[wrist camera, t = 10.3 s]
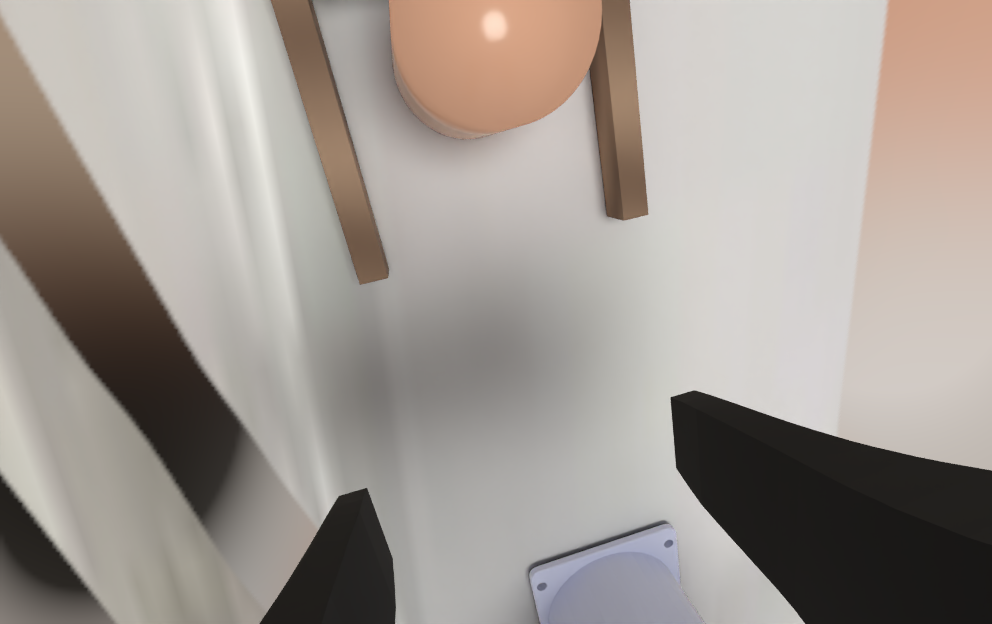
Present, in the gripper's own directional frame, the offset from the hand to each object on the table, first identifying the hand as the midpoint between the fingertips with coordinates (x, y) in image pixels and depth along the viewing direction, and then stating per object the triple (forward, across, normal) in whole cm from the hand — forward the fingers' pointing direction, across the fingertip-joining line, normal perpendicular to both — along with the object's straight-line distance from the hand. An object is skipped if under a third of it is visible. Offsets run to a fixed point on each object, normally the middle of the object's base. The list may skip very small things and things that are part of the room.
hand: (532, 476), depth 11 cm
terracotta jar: (+10, -2, -10) cm, 14 cm away
